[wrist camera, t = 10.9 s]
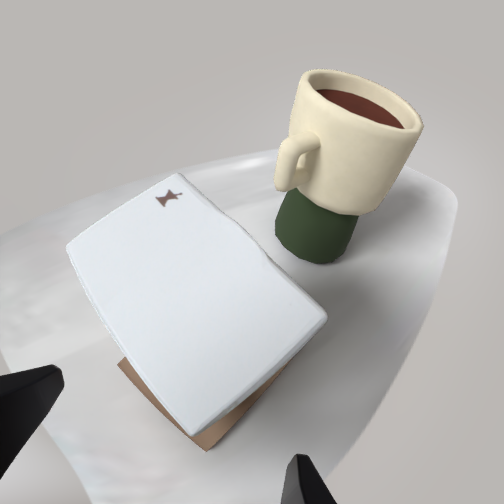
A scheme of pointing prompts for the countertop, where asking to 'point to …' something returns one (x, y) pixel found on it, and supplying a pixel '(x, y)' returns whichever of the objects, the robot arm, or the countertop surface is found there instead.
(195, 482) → the countertop surface
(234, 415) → the curved brown sheet
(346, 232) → the character mug
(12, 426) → the robot arm
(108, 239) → the skincare box
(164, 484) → the countertop surface
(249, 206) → the countertop surface
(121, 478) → the countertop surface
